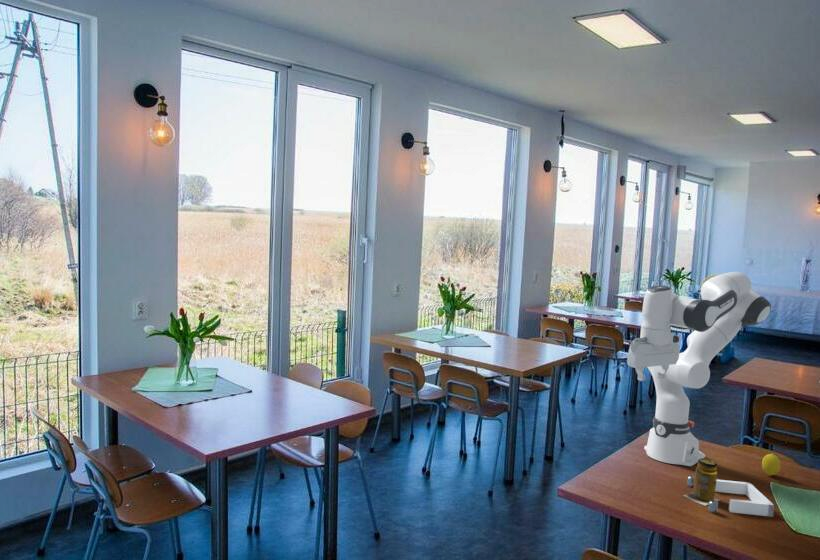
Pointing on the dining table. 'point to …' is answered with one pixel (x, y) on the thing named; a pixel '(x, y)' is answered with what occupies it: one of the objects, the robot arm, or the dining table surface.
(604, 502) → the dining table surface
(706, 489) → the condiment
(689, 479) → the cylinder
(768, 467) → the lemon
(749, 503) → the holder
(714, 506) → the cylinder
